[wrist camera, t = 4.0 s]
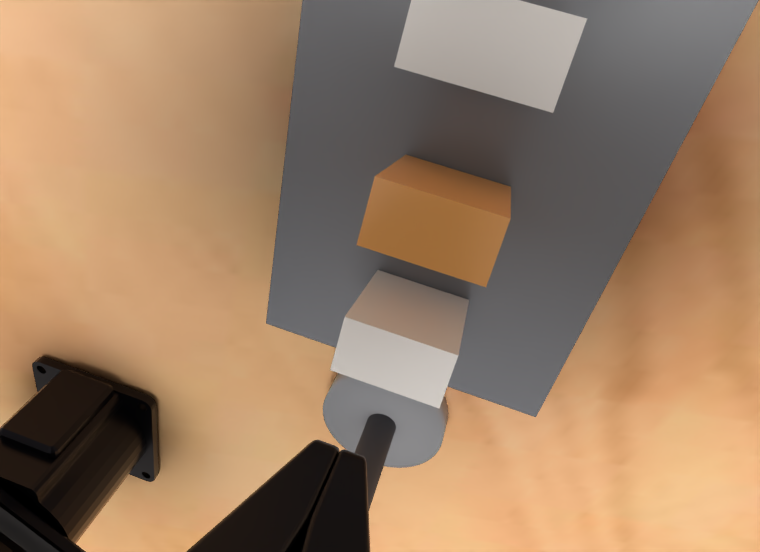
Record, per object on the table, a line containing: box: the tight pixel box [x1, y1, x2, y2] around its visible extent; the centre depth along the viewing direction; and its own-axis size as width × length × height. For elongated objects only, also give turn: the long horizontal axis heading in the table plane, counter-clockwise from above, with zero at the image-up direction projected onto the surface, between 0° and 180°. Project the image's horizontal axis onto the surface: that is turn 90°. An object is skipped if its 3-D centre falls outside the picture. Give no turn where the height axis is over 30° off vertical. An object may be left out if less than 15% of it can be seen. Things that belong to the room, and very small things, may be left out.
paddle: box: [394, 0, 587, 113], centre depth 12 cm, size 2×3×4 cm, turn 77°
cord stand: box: [323, 373, 448, 511], centre depth 21 cm, size 5×5×10 cm
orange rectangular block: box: [357, 155, 511, 287], centre depth 15 cm, size 2×3×4 cm, turn 78°
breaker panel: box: [266, 0, 759, 417], centre depth 18 cm, size 14×10×2 cm
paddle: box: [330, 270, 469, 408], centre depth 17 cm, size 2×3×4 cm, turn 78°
